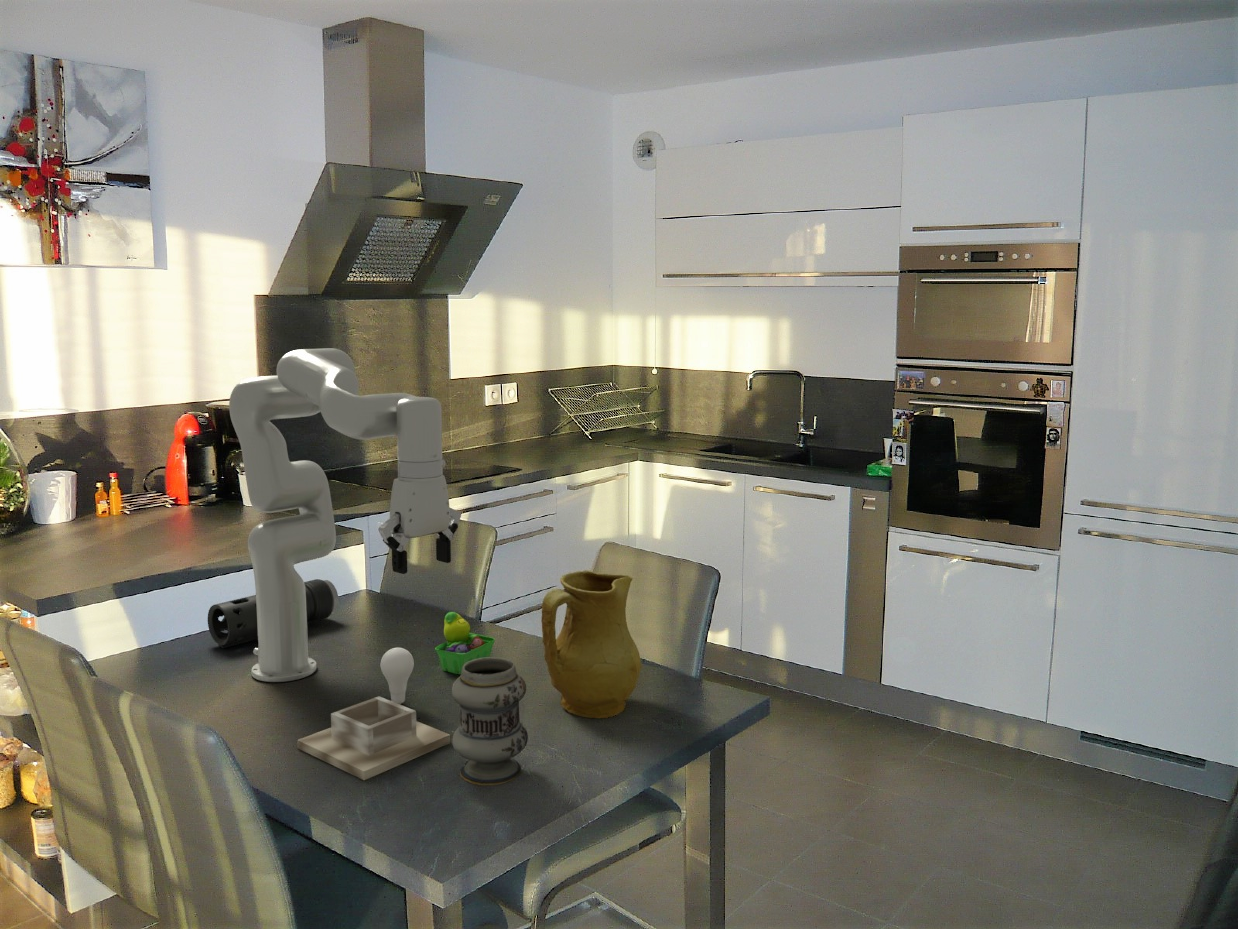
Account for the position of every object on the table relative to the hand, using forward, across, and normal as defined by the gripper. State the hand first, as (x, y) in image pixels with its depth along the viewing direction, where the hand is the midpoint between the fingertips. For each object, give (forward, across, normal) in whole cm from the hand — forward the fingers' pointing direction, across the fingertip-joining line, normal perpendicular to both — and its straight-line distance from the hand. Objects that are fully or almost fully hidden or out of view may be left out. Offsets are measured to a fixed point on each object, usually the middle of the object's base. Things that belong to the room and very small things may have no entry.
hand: (422, 566), depth 176 cm
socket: (+29, +11, 0) cm, 31 cm away
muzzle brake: (+30, -12, -65) cm, 72 cm away
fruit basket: (+30, -25, -18) cm, 43 cm away
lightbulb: (+30, -3, -12) cm, 32 cm away
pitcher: (+30, -26, +16) cm, 43 cm away
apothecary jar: (+30, +5, +22) cm, 37 cm away
